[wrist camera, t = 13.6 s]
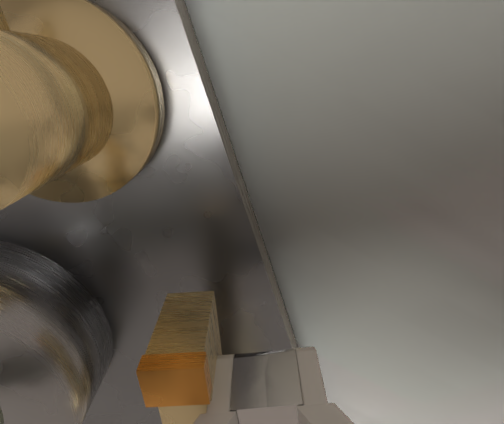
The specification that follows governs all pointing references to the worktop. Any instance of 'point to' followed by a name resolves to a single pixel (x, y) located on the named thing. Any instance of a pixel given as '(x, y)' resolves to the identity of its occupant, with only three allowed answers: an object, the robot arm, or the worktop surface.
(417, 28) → the worktop surface
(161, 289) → the levelling base
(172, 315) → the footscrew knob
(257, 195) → the worktop surface
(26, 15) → the lever
